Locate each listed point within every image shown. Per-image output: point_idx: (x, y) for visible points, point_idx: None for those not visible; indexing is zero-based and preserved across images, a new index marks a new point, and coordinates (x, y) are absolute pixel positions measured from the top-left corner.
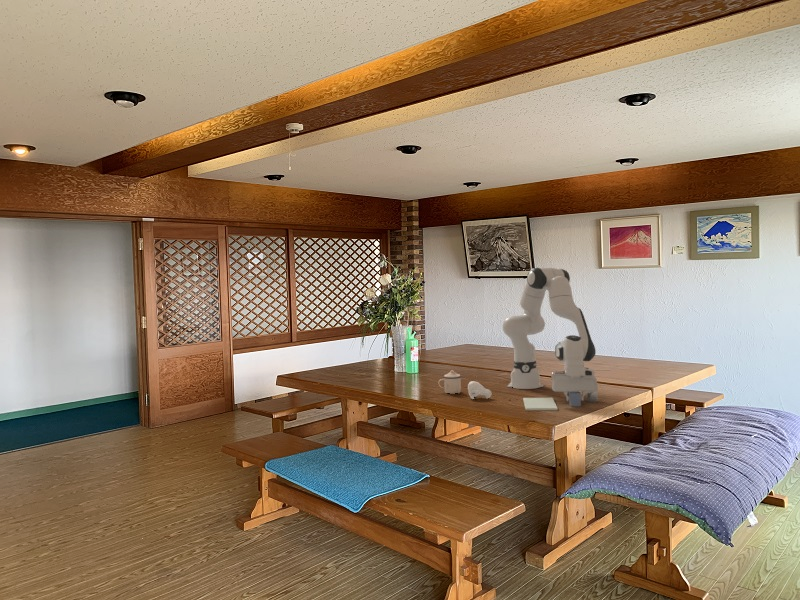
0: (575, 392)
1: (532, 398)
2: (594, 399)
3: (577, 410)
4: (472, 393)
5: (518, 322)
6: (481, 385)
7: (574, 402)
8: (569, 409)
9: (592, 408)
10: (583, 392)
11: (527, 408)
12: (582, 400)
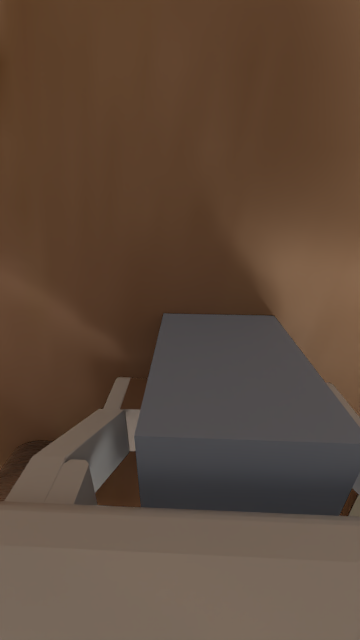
0: (227, 504)
1: None
2: (17, 465)
3: (252, 47)
4: None
5: None
6: None
7: (239, 336)
8: (350, 134)
9: (32, 197)
10: (65, 480)
11: None
12: (129, 377)
